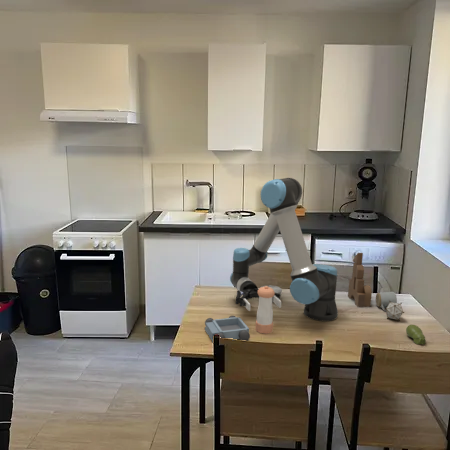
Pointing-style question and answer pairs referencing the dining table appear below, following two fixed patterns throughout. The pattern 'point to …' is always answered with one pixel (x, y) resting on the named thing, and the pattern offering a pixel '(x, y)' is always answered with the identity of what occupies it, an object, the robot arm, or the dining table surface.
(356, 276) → the wooden toy
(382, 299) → the grey cylindrical jar
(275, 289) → the ramekin
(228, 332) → the chassis
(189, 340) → the dining table surface
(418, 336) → the green toy animal
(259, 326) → the pepper shaker
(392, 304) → the game die
